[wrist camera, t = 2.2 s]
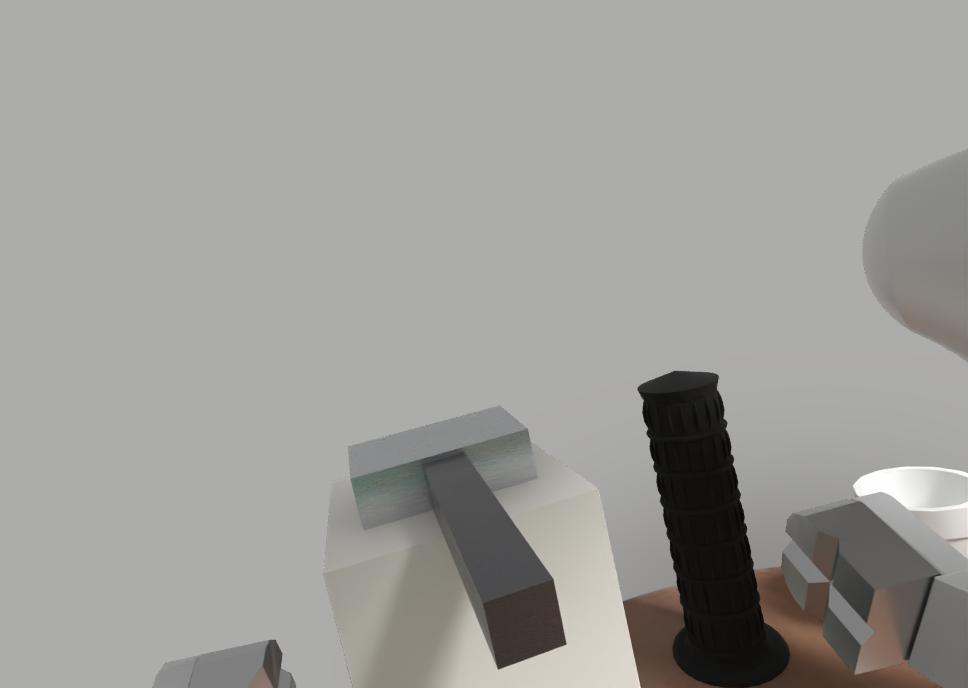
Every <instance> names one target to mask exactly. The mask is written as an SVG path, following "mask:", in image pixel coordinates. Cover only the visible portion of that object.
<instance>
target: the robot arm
mask: <svg viewBox="0 0 968 688" xmlns="http://www.w3.org/2000/svg"><path fill="white" fill-rule="evenodd" d="M863 265H864V270H865V274H866V278H867V281H868V283H869V285H870V288H871V290H872V292H873V294H874V295H875V297H876V298H877V300H878V301H879V303H880V304H881V305H882V307H883V308H884V309H885V310H886V311H887V312H888V313H889V314H890V315H891V316H892V317H893V318H894V319H896V320H897V321H898V322H899V323H900V324H902V325H903V326H904V327H906V328H907V329H909V330H910V331H912V332H914V333H916V334H919V335H921V336H923V337H925V338H927V339H929V340H931V341H934V342H936V343H938V344H940V345H941V346H943V347H945V348H946V349H948V350H950V351H952V352H953V353H955V354H957V355H958V356H960V357H961V358H962V359H964V360H966V361H967V362H968V149H966V150H964V151H961V152H958V153H956V154H954V155H951V156H948V157H946V158H943V159H941V160H938V161H936V162H934V163H931V164H929V165H927V166H925V167H922V168H920V169H918V170H916V171H913V172H911V173H909V174H907V175H904V176H902V177H900V178H897V179H896V180H894V181H893V182H892V183H891V184H890V186H889V187H888V188H887V189H886V190H885V192H884V193H883V194H882V196H881V197H880V199H879V200H878V202H877V204H876V205H875V207H874V209H873V211H872V213H871V215H870V218H869V220H868V223H867V226H866V230H865V234H864V239H863ZM786 533H787V534H788V535H789V536H790V537H791V538H792V541H791V542H790V543H789V545H788V546H787V547H786V548H785V550H784V551H783V554H782V566H781V568H782V571H783V575H784V579H785V582H786V585H787V587H788V589H789V591H790V592H791V594H792V596H793V598H794V599H795V601H796V602H797V603H798V604H799V606H800V607H801V608H802V610H803V611H804V612H806V613H808V614H810V615H812V616H814V617H816V618H817V619H819V620H821V621H823V636H824V638H825V639H826V640H827V642H828V643H829V644H830V645H831V647H832V648H833V649H834V650H835V652H836V653H837V654H838V655H839V657H840V658H841V659H842V660H843V662H844V663H845V664H846V665H847V667H848V668H849V669H850V670H851V672H852V673H853V674H854V675H857V674H861V673H865V672H869V671H873V670H878V669H882V668H886V667H890V666H894V665H898V664H903V663H907V662H908V666H909V667H911V668H912V669H914V670H915V671H917V672H919V673H920V674H922V675H923V676H925V677H927V678H928V679H930V680H931V681H933V682H935V683H936V684H938V685H939V686H941V687H943V688H968V559H967V558H966V557H965V556H963V555H962V554H961V553H960V552H959V551H957V550H956V549H955V548H954V547H953V546H951V545H950V544H949V543H948V542H947V541H945V540H944V539H943V538H942V537H941V536H939V535H938V534H937V533H936V532H935V531H933V530H932V529H931V528H930V527H929V526H927V525H926V524H925V523H924V522H923V521H921V520H920V519H919V518H918V517H917V516H915V515H914V514H913V513H912V512H911V511H909V510H908V509H907V508H906V507H905V506H903V505H902V504H901V503H900V502H899V501H897V500H896V499H895V498H894V497H892V496H891V495H889V494H886V493H884V492H877V493H873V494H869V495H865V496H861V497H856V498H852V499H850V500H847V499H846V500H842V501H838V502H834V503H830V504H826V505H822V506H818V507H815V508H811V509H807V510H803V511H799V512H796V513H793V514H792V515H791V516H790V517H789V518H788V519H787V526H786ZM281 661H282V652H281V650H280V648H279V646H278V644H277V642H276V640H268V641H263V642H259V643H254V644H249V645H244V646H240V647H235V648H231V649H226V650H221V651H216V652H212V653H207V654H202V655H199V656H194V657H190V658H186V659H181V660H177V661H172V662H168V663H165V664H164V666H163V667H162V669H161V670H160V671H159V673H158V674H157V676H156V678H155V682H154V684H153V687H152V688H296V685H295V682H294V680H293V677H292V675H291V673H289V672H287V671H285V670H283V669H281Z"/></svg>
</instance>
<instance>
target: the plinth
mask: <svg viewBox="0 0 968 688" xmlns="http://www.w3.org/2000/svg"><path fill="white" fill-rule="evenodd" d="M531 447H532V452H533V457H534V462H535V467H536V472H537V477H538V479H534V480H531V481H528V482H524V483H521V484H518V485H514V486H511V487H508V488H504V489H501V490H498V491H494V492H493V494H494V495H495V497H496V498H497V500H498V501H499V502H500V504H501V505H502V507H503V508H504V509H505V511H506V512H507V514H508V515H509V517H510V518H511V519H512V521H513V522H514V524H515V525H516V527H517V528H518V529H519V531H520V532H521V534H522V535H523V536H524V538H525V539H526V541H527V542H528V544H529V545H530V546H531V548H532V549H533V551H534V552H535V553H536V555H537V556H538V558H539V559H540V561H541V562H542V563H543V565H544V566H545V568H546V569H547V571H548V572H549V573H550V575H551V576H552V578H553V579H554V584H555V589H556V594H557V599H558V604H559V609H560V613H561V618H562V623H563V628H564V633H565V638H566V643H567V645H564V646H562V647H559V648H556V649H554V650H551V651H548V652H545V653H543V654H540V655H537V656H534V657H532V658H529V659H526V660H524V661H521V662H518V663H515V664H513V665H510V666H507V667H504V668H502V669H499V670H498V669H497V666H496V664H495V661H494V659H493V656H492V654H491V652H490V649H489V647H488V644H487V642H486V639H485V637H484V634H483V632H482V629H481V627H480V624H479V622H478V619H477V617H476V614H475V612H474V609H473V607H472V605H471V602H470V600H469V597H468V595H467V592H466V590H465V587H464V585H463V582H462V580H461V577H460V575H459V572H458V570H457V567H456V565H455V562H454V560H453V558H452V555H451V553H450V550H449V548H448V545H447V543H446V540H445V538H444V535H443V533H442V530H441V528H440V525H439V523H438V520H437V518H436V516H435V513H434V511H433V510H431V511H428V512H425V513H421V514H418V515H415V516H411V517H408V518H405V519H401V520H398V521H395V522H391V523H388V524H385V525H381V526H378V527H375V528H371V529H368V530H365V531H364V530H363V526H362V522H361V518H360V514H359V510H358V507H357V503H356V499H355V495H354V491H353V487H352V483H351V479H350V476H348V477H345V478H341V479H338V480H334V481H332V487H331V498H330V508H329V519H328V529H327V539H326V551H325V560H324V570H323V575H324V579H325V583H326V587H327V591H328V595H329V598H330V602H331V606H332V610H333V613H334V618H335V621H336V625H337V629H338V633H339V636H340V640H341V644H342V648H343V652H344V656H345V660H346V663H347V667H348V671H349V675H350V679H351V683H352V686H353V688H641V687H640V682H639V677H638V673H637V668H636V663H635V658H634V654H633V649H632V644H631V640H630V635H629V630H628V625H627V621H626V616H625V611H624V606H623V602H622V597H621V592H620V588H619V583H618V578H617V574H616V569H615V564H614V559H613V555H612V550H611V545H610V541H609V535H608V531H607V526H606V521H605V517H604V512H603V507H602V502H601V497H600V493H599V488H597V487H596V486H595V485H593V484H592V483H590V482H589V481H587V480H586V479H584V478H583V477H581V476H580V475H579V474H577V473H576V472H574V471H572V470H571V469H570V468H568V467H567V466H565V465H564V464H562V463H561V462H560V461H558V460H557V459H555V458H554V457H552V456H551V455H549V454H548V453H546V452H545V451H544V450H542V449H541V448H539V447H538V446H536V445H535V444H533V443H532V442H531Z"/></svg>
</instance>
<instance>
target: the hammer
mask: <svg viewBox="0 0 968 688" xmlns="http://www.w3.org/2000/svg"><path fill="white" fill-rule="evenodd" d="M348 450H349V466H350V479H351V483H352V487H353V491H354V495H355V499H356V503H357V507H358V510H359V514H360V518H361V522H362V526H363V530H364V531H365V530H368V529H371V528H375V527H378V526H381V525H385V524H388V523H391V522H395V521H398V520H401V519H405V518H408V517H411V516H415V515H418V514H421V513H425V512H428V511H431V510H433V511H434V513H435V516H436V518H437V520H438V523H439V525H440V528H441V530H442V533H443V535H444V538H445V540H446V543H447V545H448V548H449V550H450V553H451V555H452V558H453V560H454V562H455V565H456V567H457V570H458V572H459V575H460V577H461V580H462V582H463V585H464V587H465V590H466V592H467V595H468V597H469V600H470V602H471V605H472V607H473V609H474V612H475V614H476V617H477V619H478V622H479V624H480V627H481V629H482V632H483V634H484V637H485V639H486V642H487V644H488V647H489V649H490V652H491V654H492V656H493V659H494V661H495V664H496V666H497V669H498V670H499V669H502V668H504V667H507V666H510V665H513V664H515V663H518V662H521V661H524V660H526V659H529V658H532V657H534V656H537V655H540V654H543V653H545V652H548V651H551V650H554V649H556V648H559V647H562V646H564V645H567V643H566V638H565V633H564V628H563V623H562V618H561V613H560V609H559V604H558V599H557V594H556V589H555V584H554V579H553V578H552V576H551V575H550V573H549V572H548V571H547V569H546V568H545V566H544V565H543V563H542V562H541V561H540V559H539V558H538V556H537V555H536V553H535V552H534V551H533V549H532V548H531V546H530V545H529V544H528V542H527V541H526V539H525V538H524V536H523V535H522V534H521V532H520V531H519V529H518V528H517V527H516V525H515V524H514V522H513V521H512V519H511V518H510V517H509V515H508V514H507V512H506V511H505V509H504V508H503V507H502V505H501V504H500V502H499V501H498V500H497V498H496V497H495V495H494V494H493V492H494V491H498V490H501V489H504V488H508V487H511V486H514V485H518V484H521V483H524V482H528V481H531V480H534V479H538V477H537V472H536V467H535V462H534V457H533V452H532V447H531V442H530V437H529V432H528V429H527V428H526V427H525V426H524V425H523V424H521V423H520V422H519V421H518V420H516V419H515V418H514V417H513V416H512V415H510V414H509V413H508V412H507V411H505V410H504V409H503V408H502V407H501V406H497V407H493V408H490V409H486V410H482V411H478V412H474V413H471V414H467V415H464V416H460V417H456V418H452V419H449V420H445V421H441V422H437V423H434V424H430V425H426V426H423V427H419V428H415V429H412V430H408V431H404V432H400V433H397V434H393V435H389V436H386V437H382V438H378V439H374V440H371V441H367V442H364V443H360V444H356V445H352V446H349V447H348Z"/></svg>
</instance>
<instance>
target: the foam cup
mask: <svg viewBox="0 0 968 688" xmlns="http://www.w3.org/2000/svg"><path fill="white" fill-rule="evenodd" d="M853 489H854V495H855V498H856V497H861V496H865V495H869V494H873V493H877V492H884V493H886V494H889V495H891V496H892V497H894V498H895V499H896V500H897V501H899V502H900V503H901V504H902V505H903V506H905V507H906V508H907V509H908V510H909V511H911V512H912V513H913V514H914V515H915V516H917V517H918V518H919V519H920V520H921V521H923V522H924V523H925V524H926V525H927V526H929V527H930V528H931V529H932V530H933V531H935V532H936V533H937V534H938V535H939V536H941V537H942V538H943V539H944V540H945V541H947V542H948V543H949V544H950V545H951V546H953V547H954V548H955V549H956V550H957V551H959V552H960V553H961V554H962V555H963V556H965V557H966V558H967V559H968V473H965V472H963V471H957V470H951V469H944V468H937V467H899V468H892V469H884V470H879V471H876V472H873V473H870V474H868V475H865V476H862V477H860V478H859V480H858V481H857V482H856V483H855V484H854V485H853Z"/></svg>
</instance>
